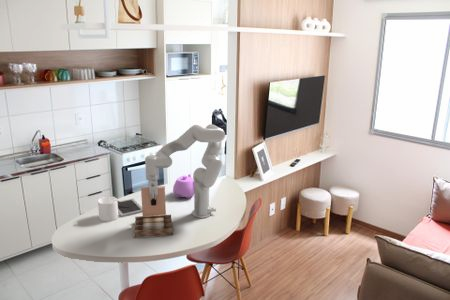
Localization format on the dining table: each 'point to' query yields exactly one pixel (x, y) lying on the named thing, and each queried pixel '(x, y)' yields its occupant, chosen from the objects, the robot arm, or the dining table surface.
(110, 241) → the dining table surface
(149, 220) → the birch offcut
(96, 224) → the dining table surface
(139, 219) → the offcut rack
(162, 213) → the plywood sheet
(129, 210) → the picture frame
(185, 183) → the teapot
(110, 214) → the cup
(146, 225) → the grey offcut
